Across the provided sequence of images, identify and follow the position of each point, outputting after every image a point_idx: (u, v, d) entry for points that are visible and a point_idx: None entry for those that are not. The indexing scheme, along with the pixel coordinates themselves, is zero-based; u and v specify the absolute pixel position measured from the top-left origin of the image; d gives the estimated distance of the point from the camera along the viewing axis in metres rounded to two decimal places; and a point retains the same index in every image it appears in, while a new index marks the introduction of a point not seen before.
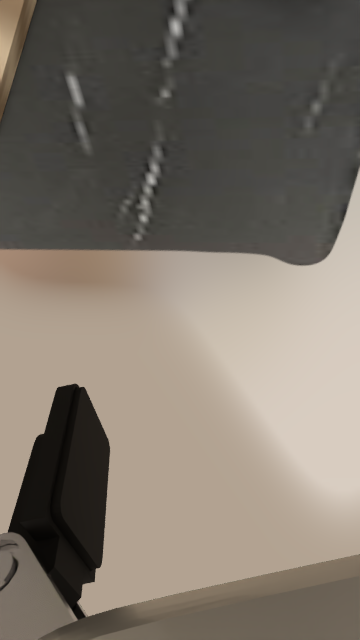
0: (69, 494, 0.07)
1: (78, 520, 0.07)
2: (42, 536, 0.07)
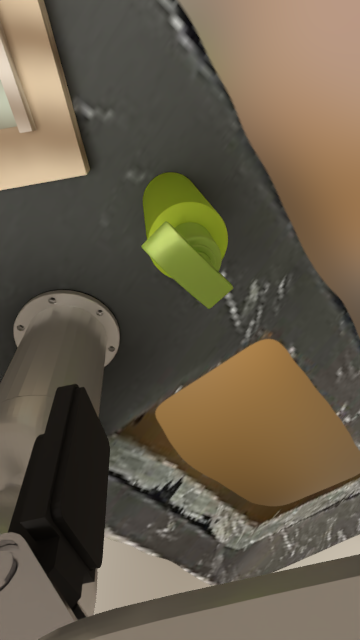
0: (69, 494, 0.07)
1: (78, 520, 0.07)
2: (42, 536, 0.07)
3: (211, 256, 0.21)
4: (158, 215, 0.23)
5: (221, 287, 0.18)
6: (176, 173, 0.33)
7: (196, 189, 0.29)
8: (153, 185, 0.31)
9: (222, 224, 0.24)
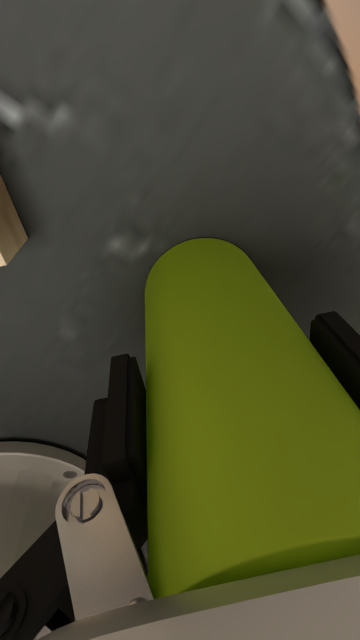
0: (138, 444, 0.08)
1: (144, 469, 0.08)
2: (118, 478, 0.08)
3: None
4: (196, 572, 0.05)
5: None
6: (216, 241, 0.15)
7: (283, 312, 0.11)
8: (167, 280, 0.13)
9: None
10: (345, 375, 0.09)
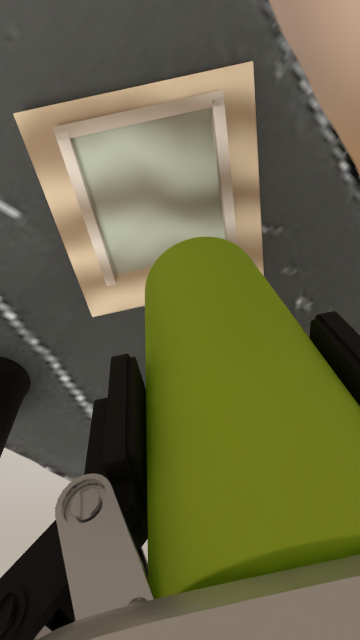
0: (138, 444, 0.08)
1: (144, 469, 0.08)
2: (118, 478, 0.08)
3: None
4: (196, 570, 0.05)
5: None
6: (217, 240, 0.15)
7: (283, 310, 0.11)
8: (167, 278, 0.13)
9: None
10: (345, 375, 0.09)
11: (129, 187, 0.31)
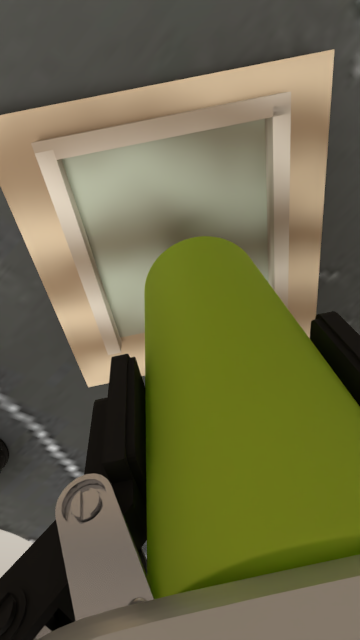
0: (138, 444, 0.08)
1: (144, 469, 0.08)
2: (118, 478, 0.08)
3: None
4: (196, 571, 0.05)
5: None
6: (216, 239, 0.15)
7: (283, 310, 0.11)
8: (167, 278, 0.13)
9: None
10: (345, 375, 0.09)
11: (143, 227, 0.22)
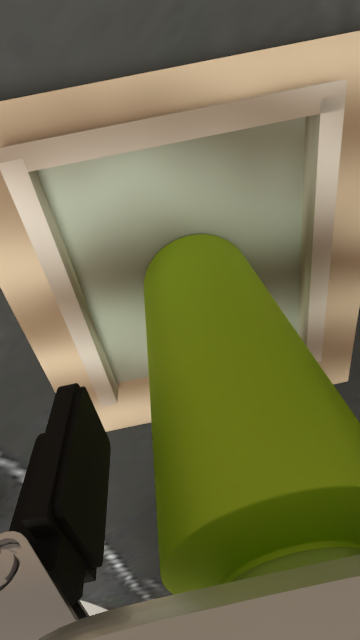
0: (70, 493, 0.07)
1: (79, 519, 0.08)
2: (43, 535, 0.07)
3: None
4: (200, 519, 0.06)
5: None
6: (211, 237, 0.16)
7: (272, 305, 0.12)
8: (166, 275, 0.14)
9: None
10: None
11: (144, 254, 0.17)
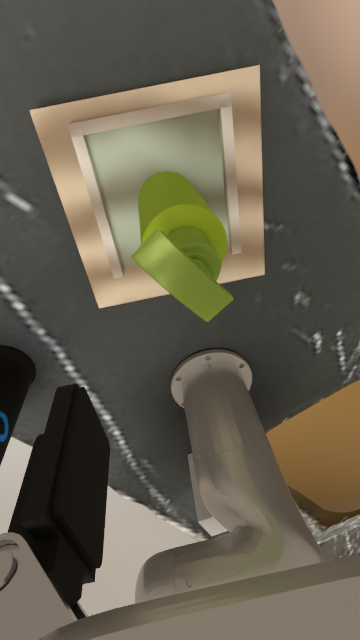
0: (69, 494, 0.07)
1: (78, 520, 0.07)
2: (42, 536, 0.07)
3: (209, 264, 0.19)
4: (152, 219, 0.21)
5: (220, 299, 0.17)
6: (172, 172, 0.31)
7: (193, 189, 0.27)
8: (148, 185, 0.29)
9: (221, 227, 0.22)
10: None
11: (138, 183, 0.32)
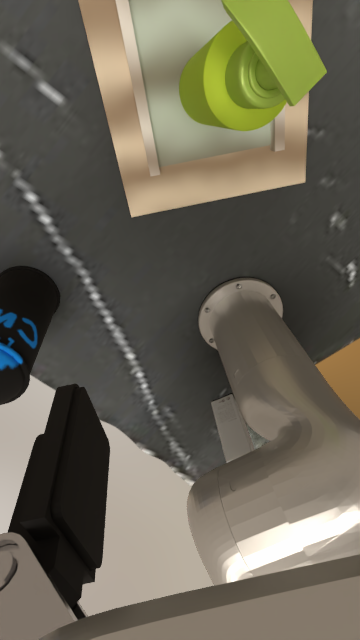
0: (69, 494, 0.07)
1: (78, 520, 0.07)
2: (42, 536, 0.07)
3: None
4: (217, 33, 0.19)
5: (313, 68, 0.15)
6: None
7: None
8: None
9: None
10: None
11: (180, 63, 0.30)
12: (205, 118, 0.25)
